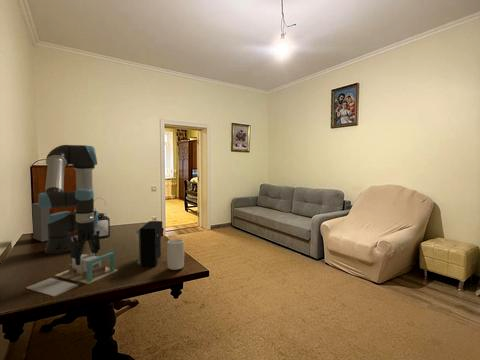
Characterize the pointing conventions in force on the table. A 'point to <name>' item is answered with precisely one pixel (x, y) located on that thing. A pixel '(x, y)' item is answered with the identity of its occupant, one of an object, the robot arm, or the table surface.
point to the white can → (175, 254)
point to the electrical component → (150, 243)
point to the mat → (52, 287)
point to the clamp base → (85, 274)
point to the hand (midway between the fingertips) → (86, 268)
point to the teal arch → (90, 262)
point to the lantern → (103, 225)
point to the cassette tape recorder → (40, 222)
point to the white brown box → (85, 263)
